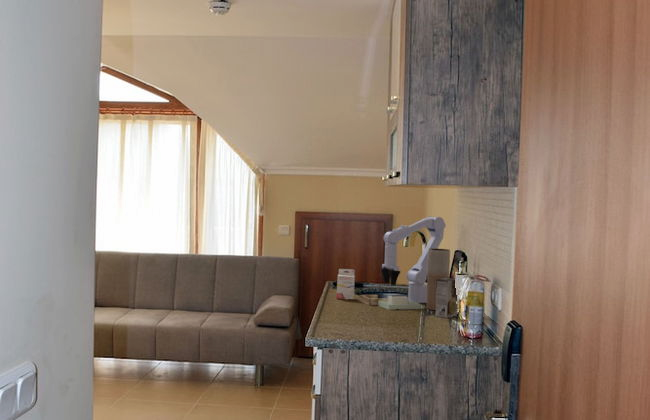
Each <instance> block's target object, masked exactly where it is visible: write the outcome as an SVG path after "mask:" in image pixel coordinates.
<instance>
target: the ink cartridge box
mask: <svg viewBox="0 0 650 420" xmlns="http://www.w3.org/2000/svg"><path fill="white" fill-rule="evenodd" d="M355 273H356V272H355V269H350V268H339V269H338V274H337V281H336V299H337V300H348V299H353V300H354V298H355V279H356V278H355V277H356V275H355Z"/></svg>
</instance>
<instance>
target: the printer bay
mask: <svg viewBox="0 0 650 420" xmlns="http://www.w3.org/2000/svg"><path fill="white" fill-rule="evenodd" d="M378 301H388V297H386V298H385V297H383V298H381V297H380V298H379V295H378V294H359V295H358V302H360V303H363V304H366V305H368V306H378Z"/></svg>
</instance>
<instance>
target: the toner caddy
mask: <svg viewBox="0 0 650 420" xmlns="http://www.w3.org/2000/svg"><path fill="white" fill-rule="evenodd" d="M387 299H388V304H408V296H406V295H405V294H391V295H387Z"/></svg>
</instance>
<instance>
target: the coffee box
mask: <svg viewBox="0 0 650 420" xmlns="http://www.w3.org/2000/svg"><path fill="white" fill-rule="evenodd" d="M455 279H456V278H451V277H449V278H443V279H437V285H436V310H435V313H434V314H435V317H439V318H440V317H441V318H446V319H449V318H453V316H455V317H457V316H456V314H457V304H456V301H457V295H456V288H455Z"/></svg>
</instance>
